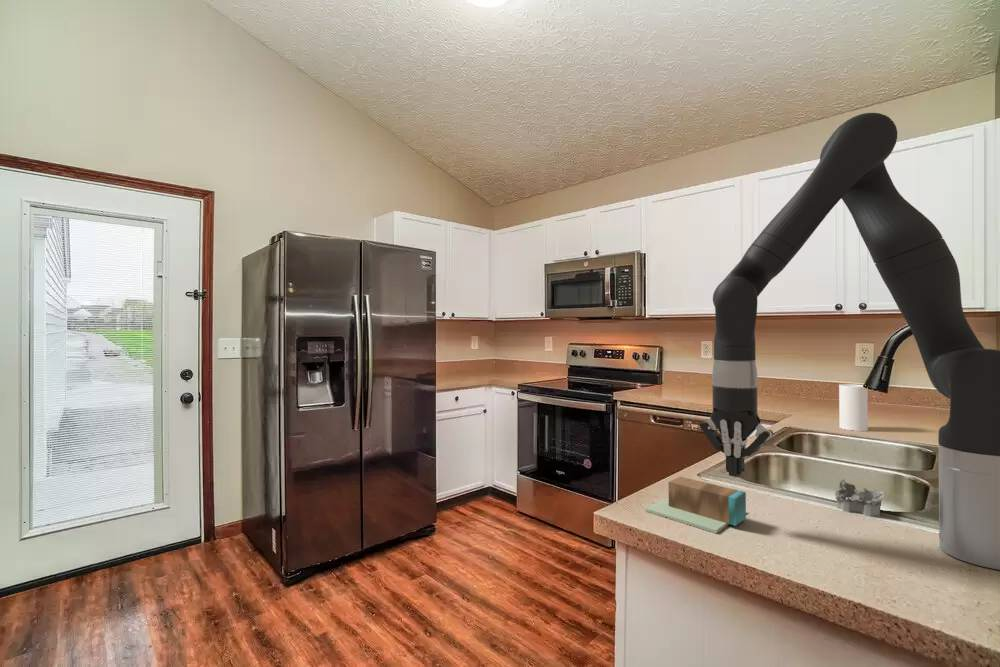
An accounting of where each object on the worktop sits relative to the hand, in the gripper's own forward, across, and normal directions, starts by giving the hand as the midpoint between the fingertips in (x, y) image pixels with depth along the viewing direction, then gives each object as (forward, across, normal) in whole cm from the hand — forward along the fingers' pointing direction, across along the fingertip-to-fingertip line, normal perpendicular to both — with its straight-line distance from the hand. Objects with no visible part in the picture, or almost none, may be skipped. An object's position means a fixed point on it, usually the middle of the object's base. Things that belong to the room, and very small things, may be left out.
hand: (734, 475), depth 85 cm
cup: (+9, +2, -117) cm, 117 cm away
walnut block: (+6, -1, 0) cm, 6 cm away
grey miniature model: (+10, -14, -27) cm, 32 cm away
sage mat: (+9, +8, 0) cm, 12 cm away
